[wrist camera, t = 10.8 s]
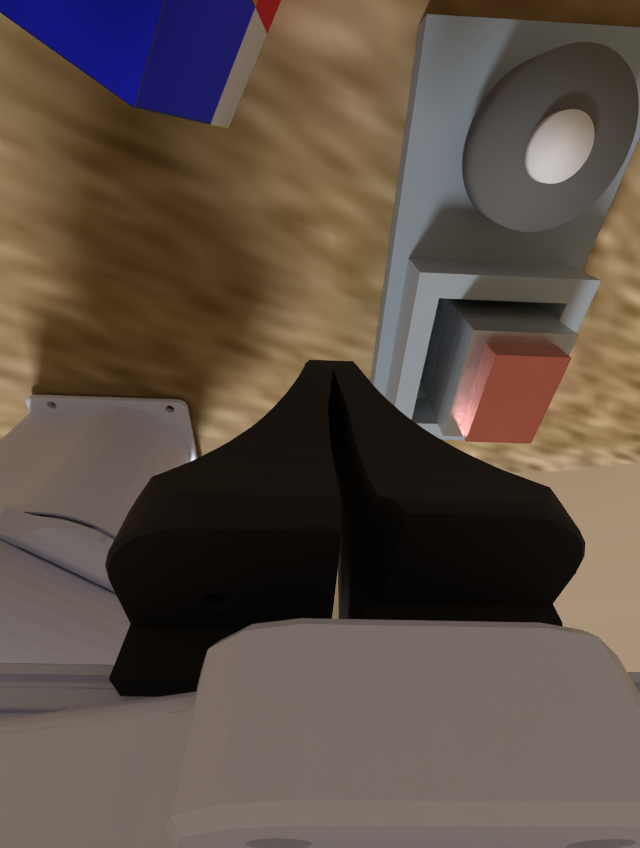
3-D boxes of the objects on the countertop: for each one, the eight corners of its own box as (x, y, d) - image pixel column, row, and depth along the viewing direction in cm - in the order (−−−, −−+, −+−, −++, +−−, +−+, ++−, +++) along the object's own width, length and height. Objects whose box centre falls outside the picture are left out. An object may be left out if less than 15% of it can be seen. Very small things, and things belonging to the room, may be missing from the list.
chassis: (366, 410, 24) (373, 448, 21) (419, 23, 14) (447, -11, 11) (508, 415, 24) (535, 453, 21) (659, 38, 14) (751, 9, 11)
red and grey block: (419, 380, 21) (448, 449, 16) (439, 289, 18) (483, 341, 14) (489, 383, 21) (540, 452, 17) (521, 293, 18) (594, 345, 14)
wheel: (447, 222, 16) (463, 231, 14) (484, 48, 13) (510, 32, 11) (571, 228, 16) (601, 237, 14) (636, 57, 13) (685, 43, 11)
